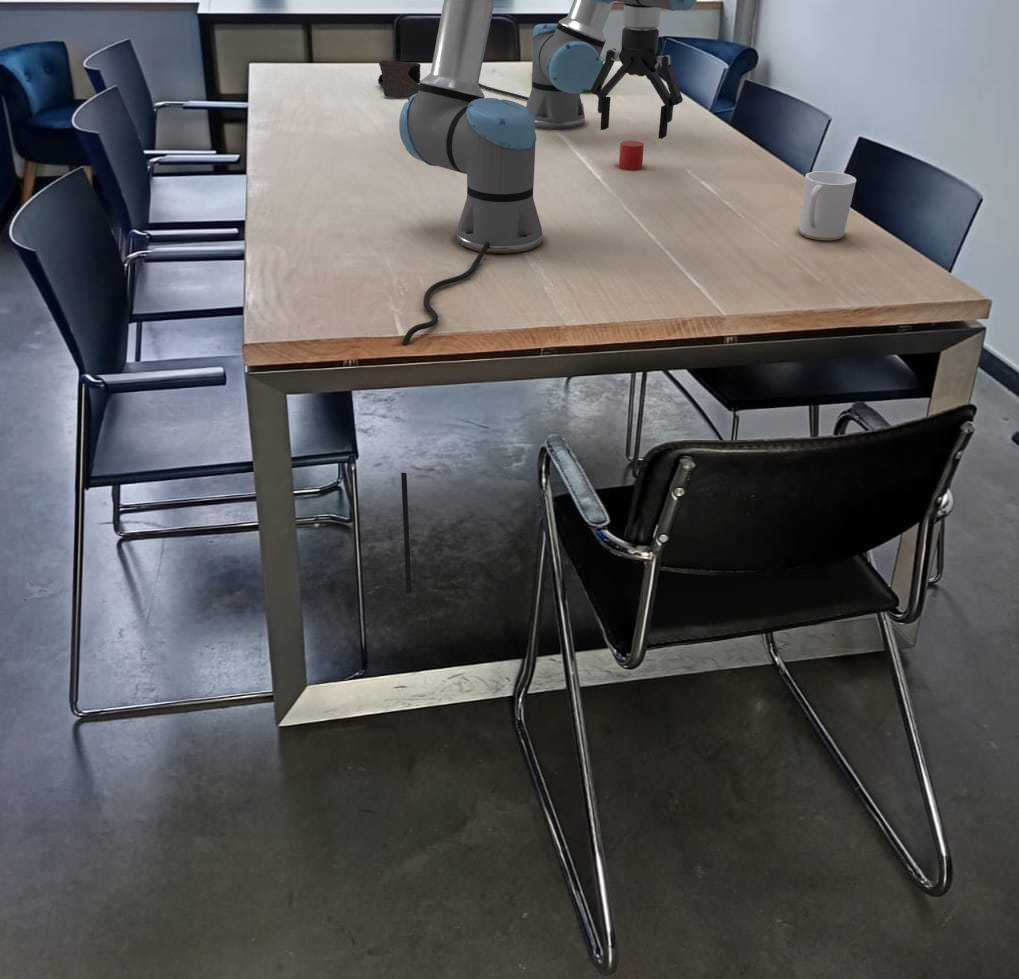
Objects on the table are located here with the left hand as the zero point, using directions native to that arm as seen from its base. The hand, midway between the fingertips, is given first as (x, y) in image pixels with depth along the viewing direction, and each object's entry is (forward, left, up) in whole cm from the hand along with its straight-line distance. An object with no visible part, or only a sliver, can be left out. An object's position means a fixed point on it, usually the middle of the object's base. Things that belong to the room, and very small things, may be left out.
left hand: (633, 133), depth 236 cm
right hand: (+14, +48, +28) cm, 57 cm away
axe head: (+64, +64, -7) cm, 91 cm away
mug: (-41, -36, -7) cm, 55 cm away
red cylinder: (0, 0, -7) cm, 7 cm away
